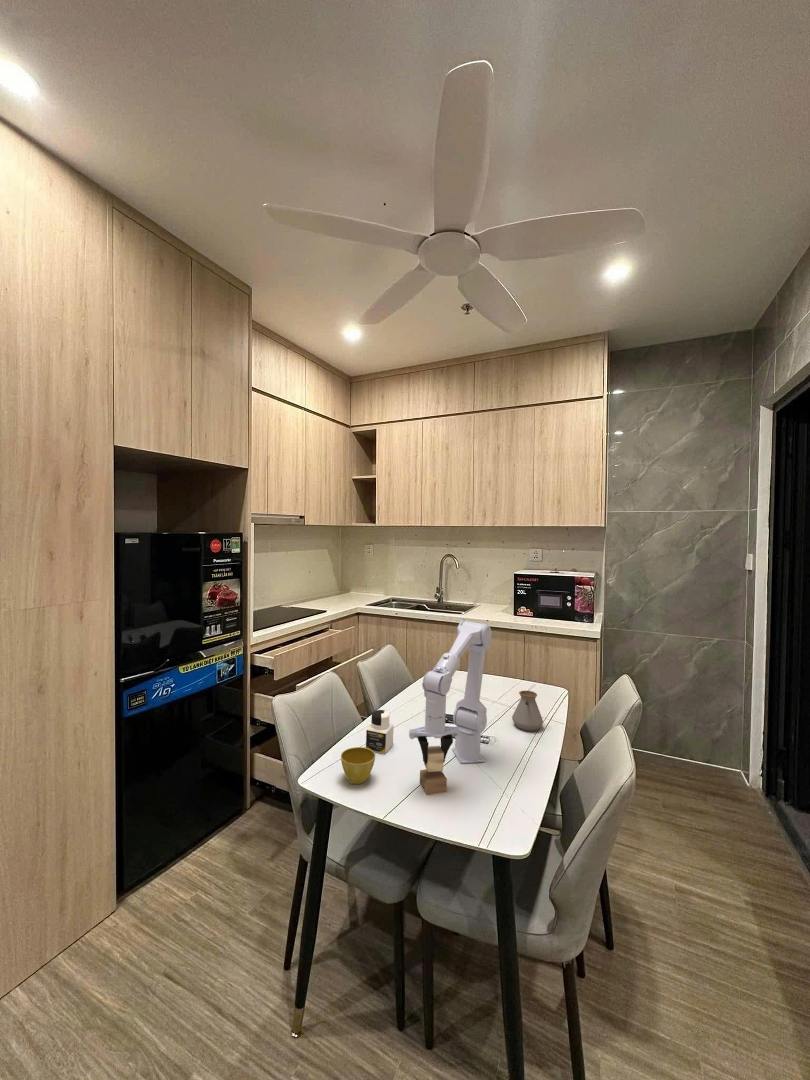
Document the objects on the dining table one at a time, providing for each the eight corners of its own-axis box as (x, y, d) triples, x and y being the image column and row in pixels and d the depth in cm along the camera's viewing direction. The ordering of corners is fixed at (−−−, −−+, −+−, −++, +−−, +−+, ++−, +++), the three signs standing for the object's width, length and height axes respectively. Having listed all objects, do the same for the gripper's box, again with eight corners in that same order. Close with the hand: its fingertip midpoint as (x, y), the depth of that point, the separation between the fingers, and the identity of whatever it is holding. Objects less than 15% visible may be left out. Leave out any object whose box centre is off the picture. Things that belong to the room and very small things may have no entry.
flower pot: (357, 766, 136) (358, 743, 135) (381, 778, 129) (382, 754, 129) (332, 779, 128) (333, 755, 128) (357, 793, 121) (358, 768, 121)
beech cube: (423, 763, 127) (424, 746, 127) (438, 762, 128) (439, 745, 128) (427, 771, 123) (428, 754, 123) (443, 770, 124) (443, 753, 124)
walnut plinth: (419, 783, 128) (420, 770, 128) (438, 780, 129) (439, 767, 129) (426, 795, 122) (426, 781, 122) (446, 792, 124) (446, 778, 124)
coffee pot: (513, 718, 175) (514, 681, 175) (543, 723, 171) (544, 685, 171) (507, 742, 155) (509, 699, 155) (541, 748, 151) (543, 705, 151)
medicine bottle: (365, 750, 146) (366, 714, 146) (374, 740, 152) (375, 706, 152) (385, 754, 143) (386, 718, 143) (393, 744, 150) (394, 710, 150)
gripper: (413, 721, 120) (411, 770, 120) (464, 718, 123) (462, 767, 123) (408, 711, 127) (406, 757, 127) (456, 708, 130) (454, 754, 130)
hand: (433, 761), depth 126 cm, fingers closed on beech cube, 4 cm apart
